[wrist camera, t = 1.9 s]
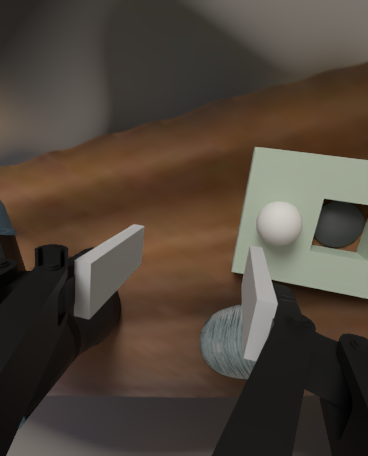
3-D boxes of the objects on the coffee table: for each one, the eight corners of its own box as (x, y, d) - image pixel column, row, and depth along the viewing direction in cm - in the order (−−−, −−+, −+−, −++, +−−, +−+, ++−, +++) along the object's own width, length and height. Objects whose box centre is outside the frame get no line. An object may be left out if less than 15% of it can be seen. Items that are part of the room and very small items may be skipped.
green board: (232, 263, 37) (231, 271, 34) (254, 148, 33) (255, 146, 30) (367, 289, 34) (379, 301, 32) (411, 167, 30) (429, 167, 27)
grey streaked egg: (202, 373, 39) (207, 399, 29) (194, 308, 42) (196, 311, 32) (291, 362, 39) (325, 384, 30) (278, 298, 42) (306, 298, 32)
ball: (250, 234, 33) (253, 247, 28) (259, 195, 31) (262, 201, 27) (292, 241, 32) (301, 255, 27) (302, 201, 31) (313, 209, 26)
